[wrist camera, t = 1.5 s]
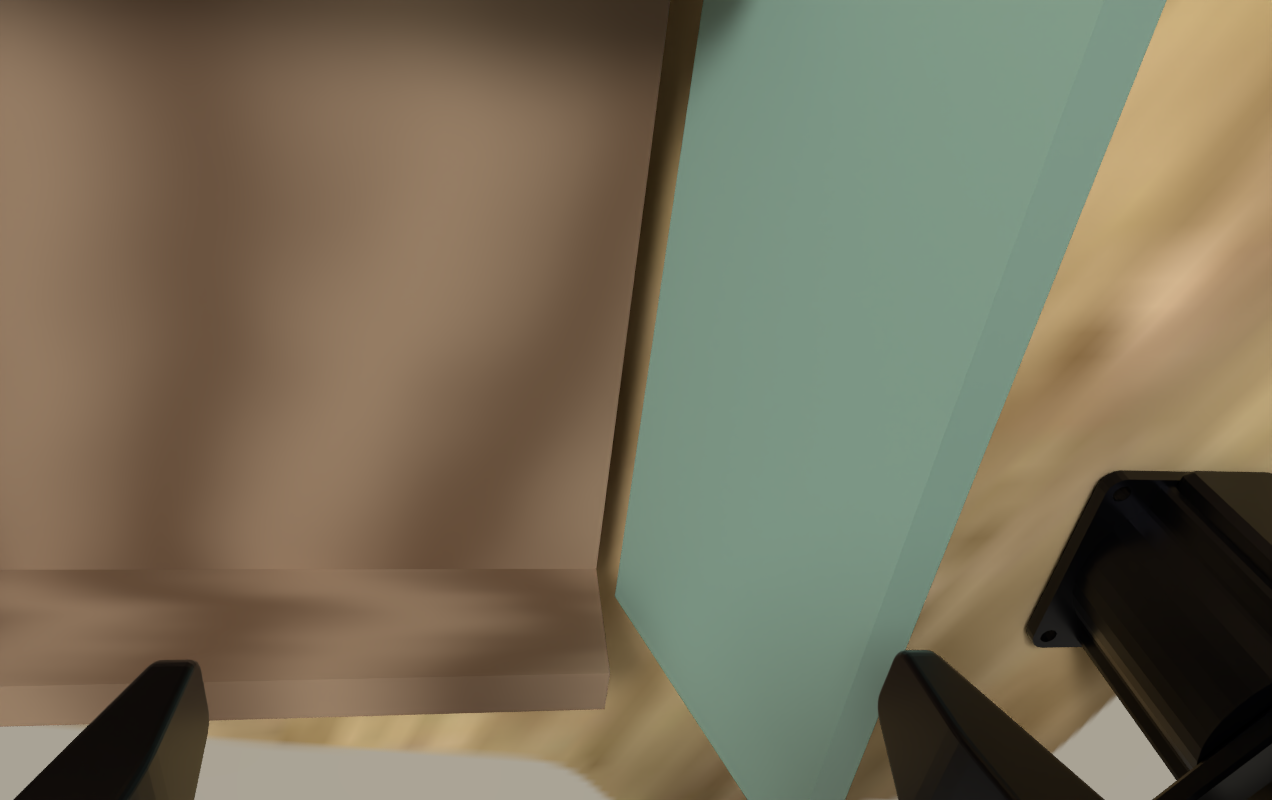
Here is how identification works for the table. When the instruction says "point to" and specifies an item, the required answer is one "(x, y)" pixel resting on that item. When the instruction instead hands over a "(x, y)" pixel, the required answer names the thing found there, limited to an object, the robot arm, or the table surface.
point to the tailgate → (846, 339)
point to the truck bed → (314, 347)
